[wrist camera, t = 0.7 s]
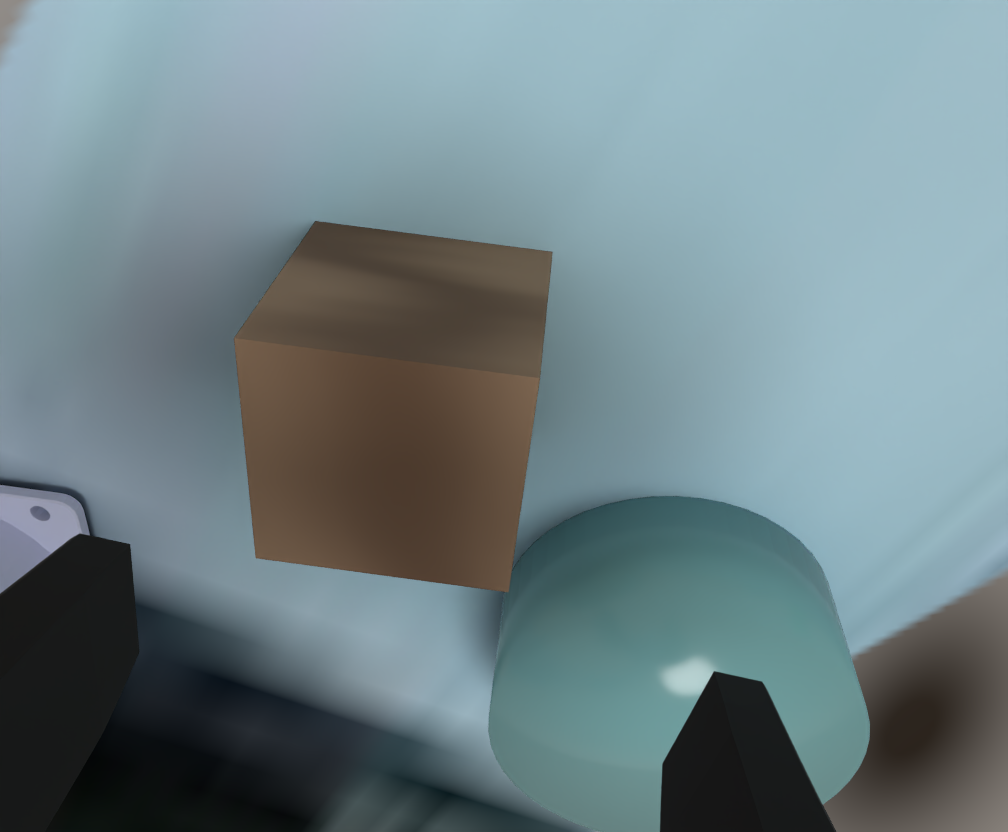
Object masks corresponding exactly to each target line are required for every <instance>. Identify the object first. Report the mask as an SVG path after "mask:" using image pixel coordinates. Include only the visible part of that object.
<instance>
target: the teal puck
mask: <svg viewBox="0 0 1008 832" xmlns="http://www.w3.org/2000/svg"><path fill="white" fill-rule="evenodd" d="M714 671H716V672H721V673H725V674H730V675H735V676H739V677H744V678H748V679H753V680H758V681H762V682H763V684H764V685H765V687H766V688H767V690H768V692H769V694H770V697H771V699H772V701H773V703H774V705H775V707H776V709H777V711H778V713H779V716H780V718H781V720H782V722H783V724H784V726H785V728H786V730H787V733H788V735H789V737H790V739H791V741H792V743H793V745H794V747H795V749H796V751H797V753H798V756H799V758H800V760H801V762H802V764H803V766H804V768H805V770H806V772H807V774H808V776H809V778H810V780H811V782H812V784H813V786H814V788H815V790H816V792H817V794H818V796H819V798H820V800H821V802H822V804H824V803H825V802H827V801H828V800H829V799H830V798H832V797H833V796H834V795H836V794H837V793H838V792H839V791H840V790H841V789H842V788H843V787H844V786H845V785H846V784H847V783H848V782H849V781H850V780H851V778H852V777H853V775H854V774H855V773H856V771H857V770H858V768H859V767H860V765H861V762H862V760H863V758H864V756H865V754H866V750H867V746H868V742H869V734H870V733H869V731H870V722H869V718H868V713H867V708H866V704H865V701H864V698H863V695H862V691H861V688H860V685H859V682H858V678H857V675H856V672H855V669H854V665H853V662H852V659H851V655H850V652H849V649H848V646H847V642H846V639H845V636H844V632H843V629H842V626H841V623H840V619H839V616H838V613H837V610H836V606H835V603H834V600H833V597H832V593H831V590H830V587H829V583H828V581H827V579H826V576H825V574H824V572H823V570H822V568H821V566H820V565H819V563H818V562H817V560H816V559H815V557H814V556H813V554H812V553H811V552H810V551H809V550H808V549H807V548H806V547H805V546H804V545H803V544H802V543H801V542H800V540H798V539H797V538H796V537H794V536H793V535H792V534H791V533H789V532H788V531H787V530H785V529H784V528H783V527H781V526H779V525H777V524H776V523H774V522H772V521H770V520H769V519H767V518H765V517H763V516H760V515H758V514H756V513H753V512H751V511H749V510H746V509H743V508H740V507H737V506H733V505H730V504H727V503H723V502H718V501H713V500H707V499H702V498H691V497H680V496H661V497H645V498H637V499H629V500H624V501H619V502H615V503H610V504H606V505H603V506H600V507H597V508H594V509H591V510H588V511H585V512H583V513H581V514H578V515H576V516H574V517H572V518H570V519H568V520H566V521H564V522H562V523H561V524H559V525H557V526H556V527H554V528H553V529H551V530H549V531H548V532H547V533H545V534H544V535H543V536H542V537H541V538H539V539H538V540H537V541H536V542H534V543H533V544H532V546H531V547H530V548H529V549H528V550H527V551H526V552H525V553H524V554H523V555H522V557H521V558H520V560H519V561H518V563H517V564H516V566H515V567H514V569H513V570H512V573H511V579H510V586H509V592H504V597H503V603H502V612H501V620H500V628H499V637H498V645H497V653H496V662H495V670H494V678H493V687H492V695H491V704H490V712H489V728H488V732H489V737H490V743H491V747H492V750H493V752H494V755H495V757H496V760H497V761H498V763H499V765H500V766H501V768H502V770H503V771H504V773H505V774H506V775H507V776H508V778H509V779H510V780H511V781H512V782H513V783H514V785H515V786H516V787H518V788H519V789H520V790H521V791H522V792H523V793H524V794H525V795H527V796H528V797H529V798H530V799H532V800H533V801H535V802H536V803H538V804H539V805H540V806H542V807H544V808H545V809H547V810H549V811H551V812H553V813H554V814H556V815H558V816H560V817H562V818H564V819H567V820H569V821H571V822H574V823H576V824H578V825H581V826H584V827H587V828H590V829H593V830H596V831H600V832H660V808H661V784H662V763H663V761H664V760H665V758H666V756H667V754H668V752H669V751H670V749H671V747H672V745H673V744H674V742H675V740H676V738H677V736H678V735H679V733H680V731H681V729H682V727H683V726H684V724H685V722H686V720H687V718H688V717H689V715H690V713H691V711H692V709H693V708H694V706H695V704H696V702H697V701H698V699H699V697H700V695H701V693H702V692H703V690H704V688H705V686H706V684H707V683H708V681H709V679H710V677H711V675H712V674H713V672H714Z"/></svg>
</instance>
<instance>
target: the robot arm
mask: <svg viewBox="0 0 1008 832" xmlns="http://www.w3.org/2000/svg"><path fill="white" fill-rule="evenodd" d="M42 507H43V508H42ZM45 509H46V510H45ZM138 654H139V643H138V631H137V620H136V608H135V596H134V584H133V572H132V561H131V549H130V544H127V543H122V542H117V541H113V540H108V539H104V538H99V537H94V536H90V533H89V529H88V525H87V521H86V517H85V513H84V510H83V508H82V506H81V504H80V503H79V502H78V501H77V500H76V499H75V498H73V497H72V496H70V495H67V494H63V493H56V492H49V491H41V490H34V489H27V488H19V487H12V486H5V485H0V832H45V830H46V829H47V827H48V825H49V824H50V822H51V820H52V819H53V817H54V815H55V814H56V812H57V810H58V809H59V807H60V805H61V803H62V802H63V800H64V798H65V797H66V795H67V793H68V792H69V790H70V788H71V787H72V785H73V783H74V781H75V780H76V778H77V776H78V775H79V773H80V771H81V770H82V768H83V766H84V764H85V763H86V761H87V759H88V758H89V756H90V754H91V753H92V751H93V749H94V747H95V746H96V744H97V742H98V740H99V739H100V737H101V735H102V734H103V732H104V730H105V727H106V725H107V723H108V721H109V719H110V717H111V714H112V712H113V710H114V708H115V706H116V704H117V702H118V699H119V697H120V695H121V693H122V690H123V688H124V686H125V684H126V681H127V679H128V677H129V674H130V672H131V670H132V668H133V665H134V663H135V661H136V658H137V656H138ZM660 832H836V830H835V828H834V826H833V824H832V823H831V820H830V818H829V816H828V814H827V812H826V810H825V809H824V806H823V804H822V802H821V800H820V798H819V796H818V794H817V792H816V790H815V788H814V786H813V784H812V782H811V780H810V778H809V776H808V774H807V772H806V770H805V768H804V766H803V764H802V762H801V760H800V758H799V756H798V753H797V751H796V749H795V747H794V745H793V743H792V741H791V739H790V737H789V735H788V733H787V730H786V728H785V726H784V724H783V722H782V720H781V718H780V716H779V713H778V711H777V709H776V707H775V705H774V703H773V701H772V699H771V697H770V694H769V692H768V690H767V688H766V687H765V685H764V684H763V682H762V681H758V680H753V679H748V678H744V677H739V676H735V675H730V674H725V673H721V672H716V671H714V672H713V674H712V675H711V677H710V679H709V681H708V683H707V684H706V686H705V688H704V690H703V692H702V693H701V695H700V697H699V699H698V701H697V702H696V704H695V706H694V708H693V709H692V711H691V713H690V715H689V717H688V718H687V720H686V722H685V724H684V726H683V727H682V729H681V731H680V733H679V735H678V736H677V738H676V740H675V742H674V744H673V745H672V747H671V749H670V751H669V752H668V754H667V756H666V758H665V760H664V761H663V763H662V784H661V808H660Z"/></svg>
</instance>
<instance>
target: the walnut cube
mask: <svg viewBox="0 0 1008 832" xmlns="http://www.w3.org/2000/svg"><path fill="white" fill-rule="evenodd" d="M551 262H552V252H549V251H542V250H534V249H526V248H518V247H511V246H503V245H495V244H488V243H480V242H472V241H465V240H457V239H449V238H441V237H434V236H426V235H418V234H411V233H403V232H395V231H388V230H380V229H372V228H364V227H357V226H349V225H341V224H334V223H326V222H318V221H315V223H314V224H313V226H312V227H311V228H310V230H309V231H308V233H307V234H306V236H305V237H304V239H303V240H302V241H301V243H300V244H299V246H298V247H297V249H296V250H295V251H294V253H293V254H292V256H291V257H290V259H289V260H288V261H287V263H286V264H285V266H284V267H283V269H282V270H281V271H280V273H279V274H278V276H277V277H276V279H275V280H274V282H273V283H272V284H271V286H270V287H269V289H268V290H267V292H266V293H265V294H264V296H263V297H262V299H261V300H260V302H259V303H258V304H257V306H256V307H255V309H254V310H253V312H252V313H251V314H250V316H249V317H248V319H247V320H246V322H245V323H244V325H243V326H242V327H241V329H240V330H239V332H238V333H237V335H236V336H235V337H234V343H235V353H236V363H237V373H238V383H239V394H240V404H241V414H242V424H243V434H244V444H245V454H246V464H247V474H248V485H249V495H250V505H251V515H252V525H253V535H254V545H255V555H256V558H259V559H266V560H273V561H281V562H288V563H296V564H303V565H310V566H318V567H325V568H333V569H340V570H347V571H355V572H362V573H370V574H377V575H384V576H392V577H399V578H407V579H414V580H421V581H429V582H436V583H444V584H451V585H458V586H466V587H473V588H481V589H488V590H495V591H503V592H509V586H510V579H511V572H512V565H513V558H514V552H515V545H516V538H517V531H518V524H519V517H520V511H521V504H522V497H523V490H524V483H525V476H526V470H527V463H528V456H529V449H530V442H531V436H532V429H533V422H534V415H535V408H536V401H537V395H538V388H539V381H540V372H541V362H542V352H543V342H544V332H545V322H546V312H547V302H548V292H549V282H550V272H551Z"/></svg>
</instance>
